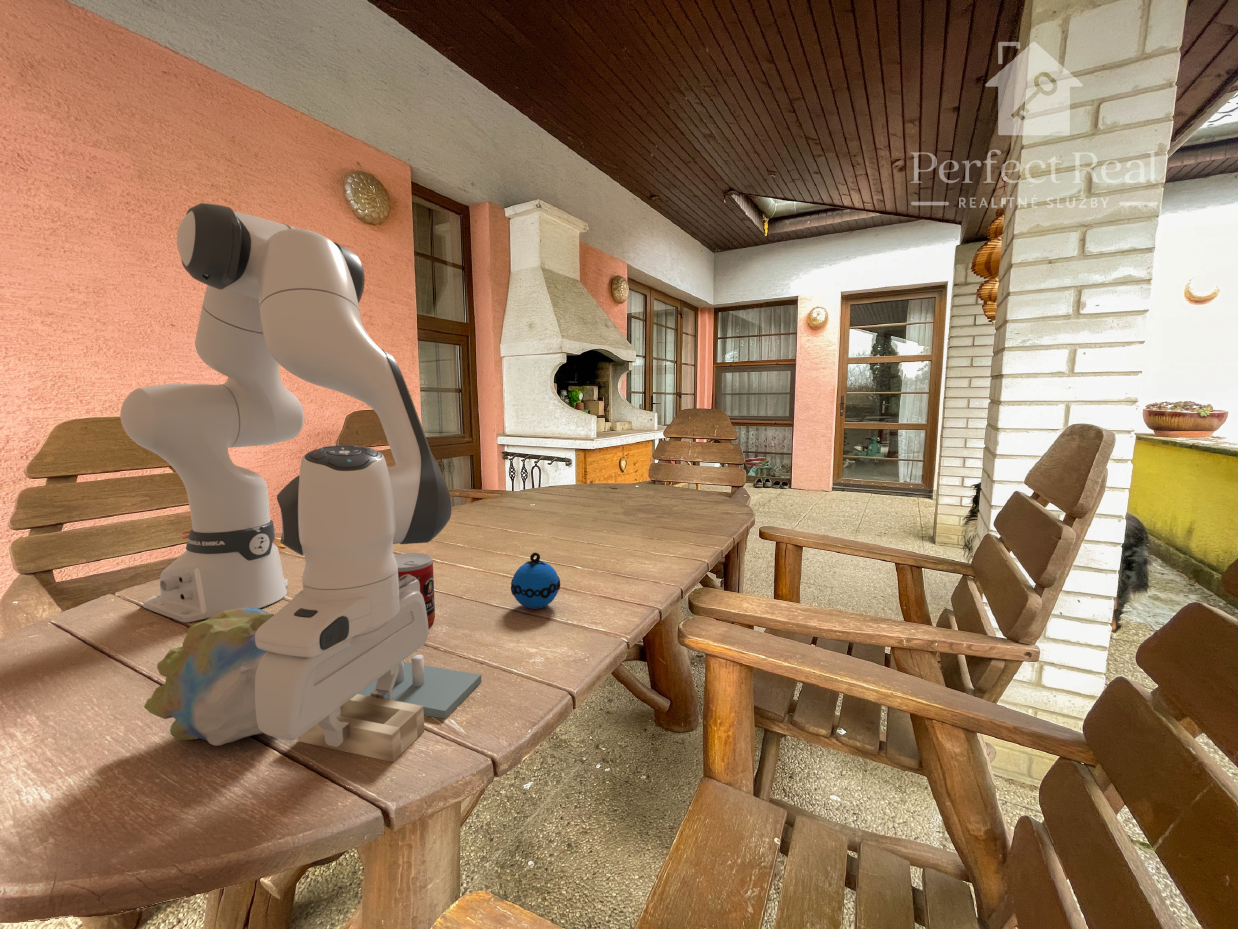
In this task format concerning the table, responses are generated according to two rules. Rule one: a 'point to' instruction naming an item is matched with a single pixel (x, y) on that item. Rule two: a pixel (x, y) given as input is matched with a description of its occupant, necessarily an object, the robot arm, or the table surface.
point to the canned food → (420, 577)
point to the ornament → (535, 583)
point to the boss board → (430, 687)
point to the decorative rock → (212, 679)
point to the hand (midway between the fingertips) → (361, 722)
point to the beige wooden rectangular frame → (374, 727)
